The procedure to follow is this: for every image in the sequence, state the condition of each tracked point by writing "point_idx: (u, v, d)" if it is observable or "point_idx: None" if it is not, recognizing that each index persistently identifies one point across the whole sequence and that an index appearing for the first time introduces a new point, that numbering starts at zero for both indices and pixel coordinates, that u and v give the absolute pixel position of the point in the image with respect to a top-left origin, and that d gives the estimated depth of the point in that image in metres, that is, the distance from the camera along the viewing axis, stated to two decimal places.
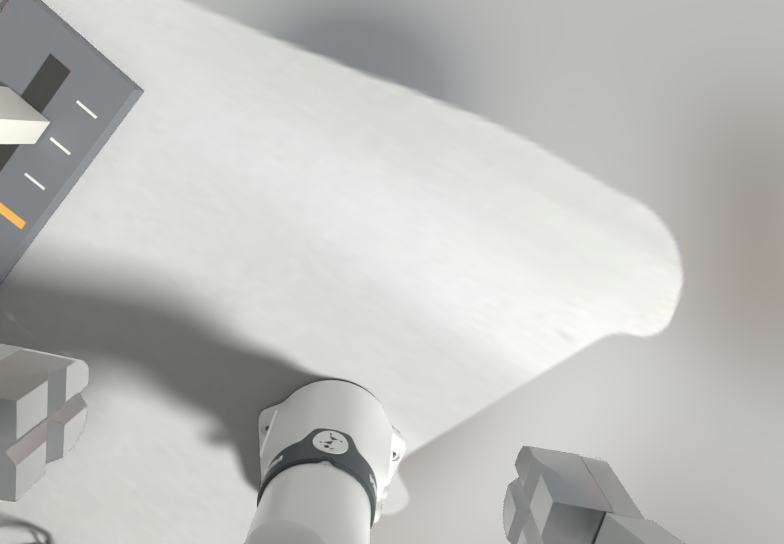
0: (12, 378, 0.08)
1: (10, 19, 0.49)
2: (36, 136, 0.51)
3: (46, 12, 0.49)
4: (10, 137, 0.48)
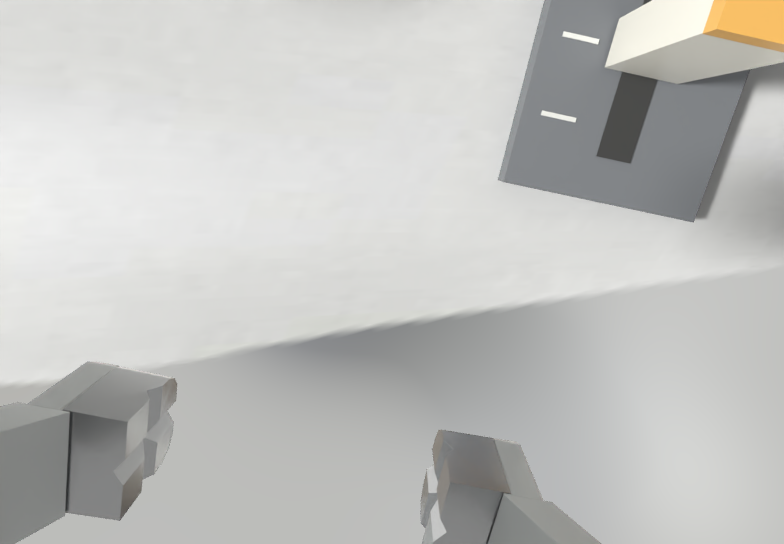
0: (116, 398, 0.08)
1: (694, 176, 0.34)
2: (617, 33, 0.31)
3: (648, 211, 0.35)
4: (644, 17, 0.28)
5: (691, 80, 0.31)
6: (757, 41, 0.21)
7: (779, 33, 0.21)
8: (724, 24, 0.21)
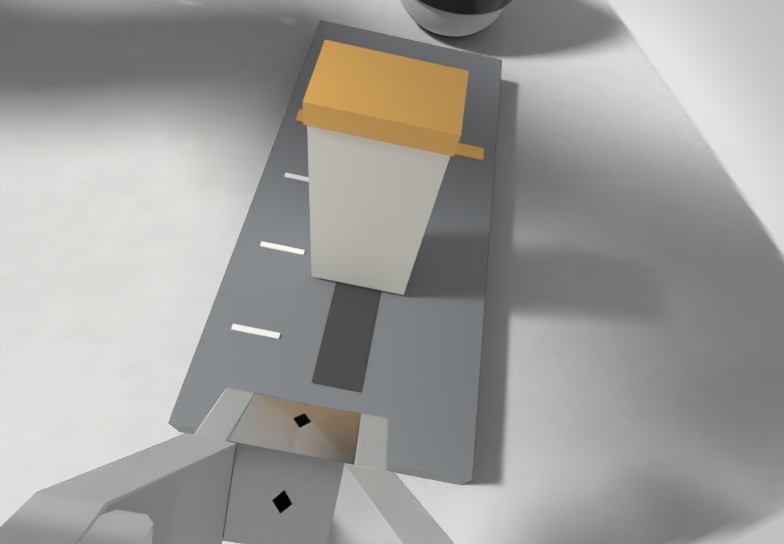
0: (270, 427, 0.08)
1: (455, 409, 0.24)
2: None
3: (400, 465, 0.23)
4: None
5: (407, 279, 0.25)
6: (366, 123, 0.16)
7: (385, 111, 0.16)
8: (312, 98, 0.16)
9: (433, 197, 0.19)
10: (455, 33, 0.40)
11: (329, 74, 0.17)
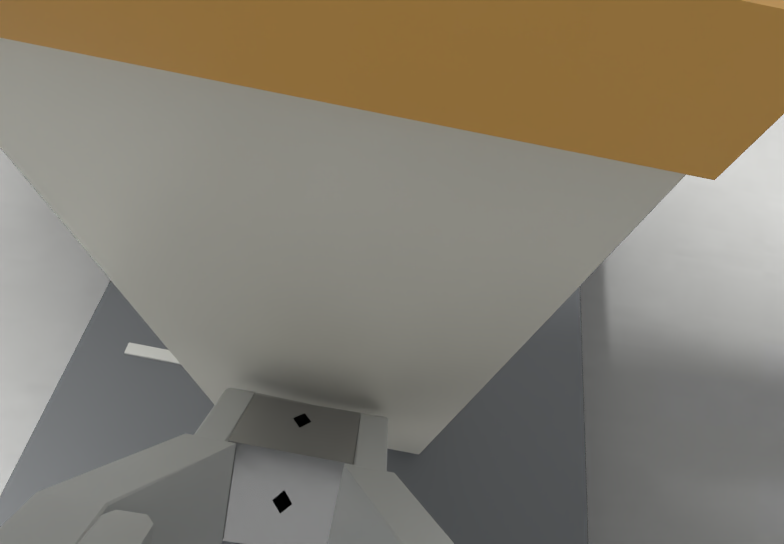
0: (270, 427, 0.08)
1: None
2: None
3: None
4: None
5: (427, 440, 0.11)
6: None
7: None
8: None
9: (533, 321, 0.05)
10: None
11: None
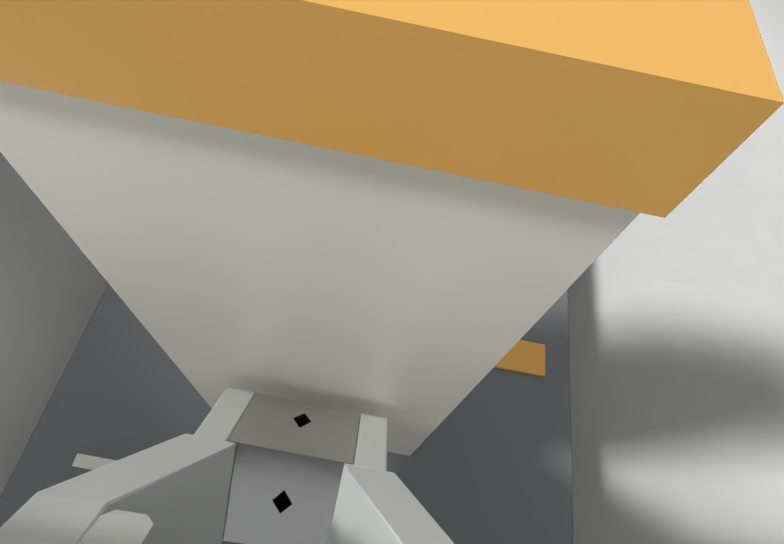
0: (270, 427, 0.08)
1: None
2: None
3: None
4: None
5: (417, 442, 0.11)
6: (194, 39, 0.03)
7: None
8: None
9: (513, 334, 0.06)
10: None
11: None
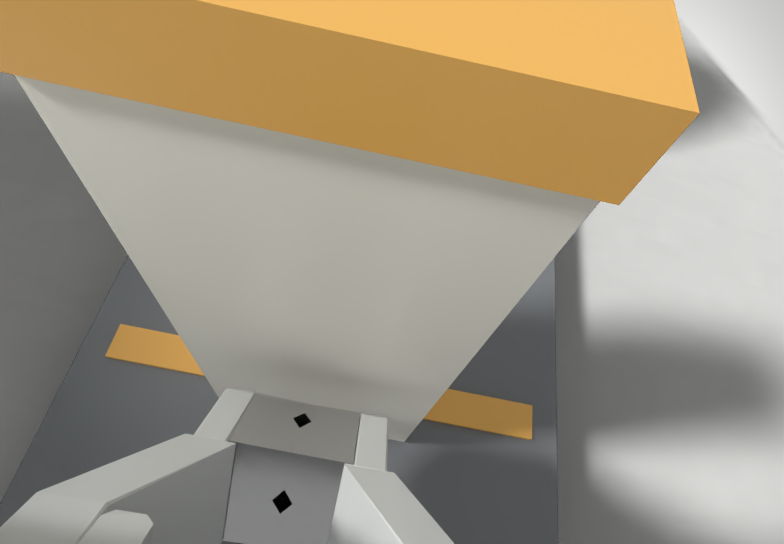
0: (270, 427, 0.08)
1: None
2: None
3: None
4: None
5: (411, 427, 0.12)
6: (241, 58, 0.03)
7: None
8: None
9: (499, 313, 0.06)
10: None
11: None
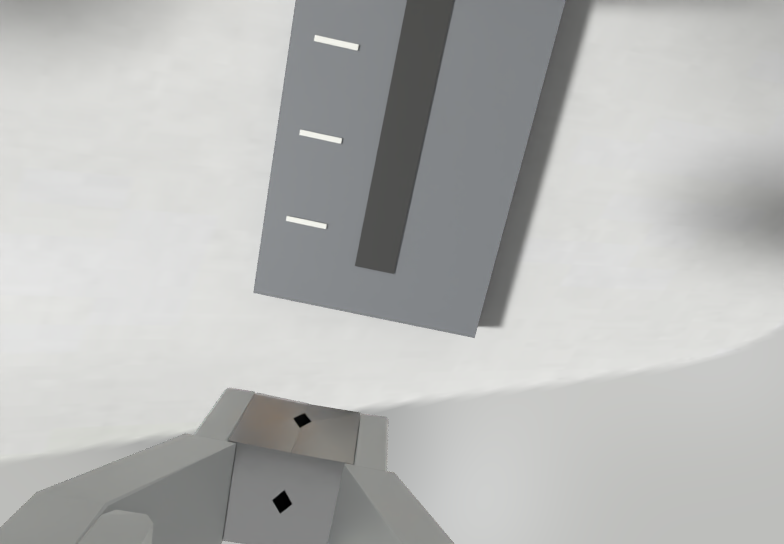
0: (270, 427, 0.08)
1: (469, 288, 0.30)
2: None
3: (422, 326, 0.31)
4: None
5: None
6: None
7: None
8: None
9: None
10: None
11: None
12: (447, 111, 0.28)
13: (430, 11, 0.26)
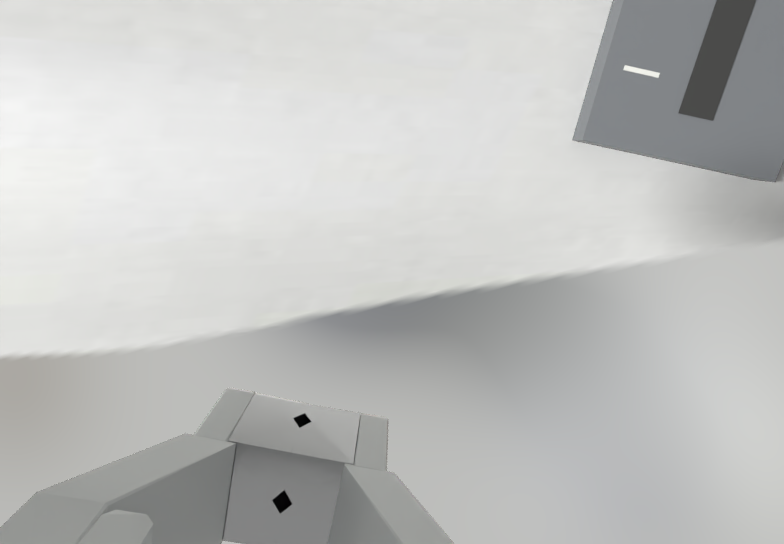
0: (270, 427, 0.08)
1: (778, 134, 0.34)
2: None
3: (729, 171, 0.34)
4: None
5: None
6: None
7: None
8: None
9: None
10: None
11: None
12: None
13: None
